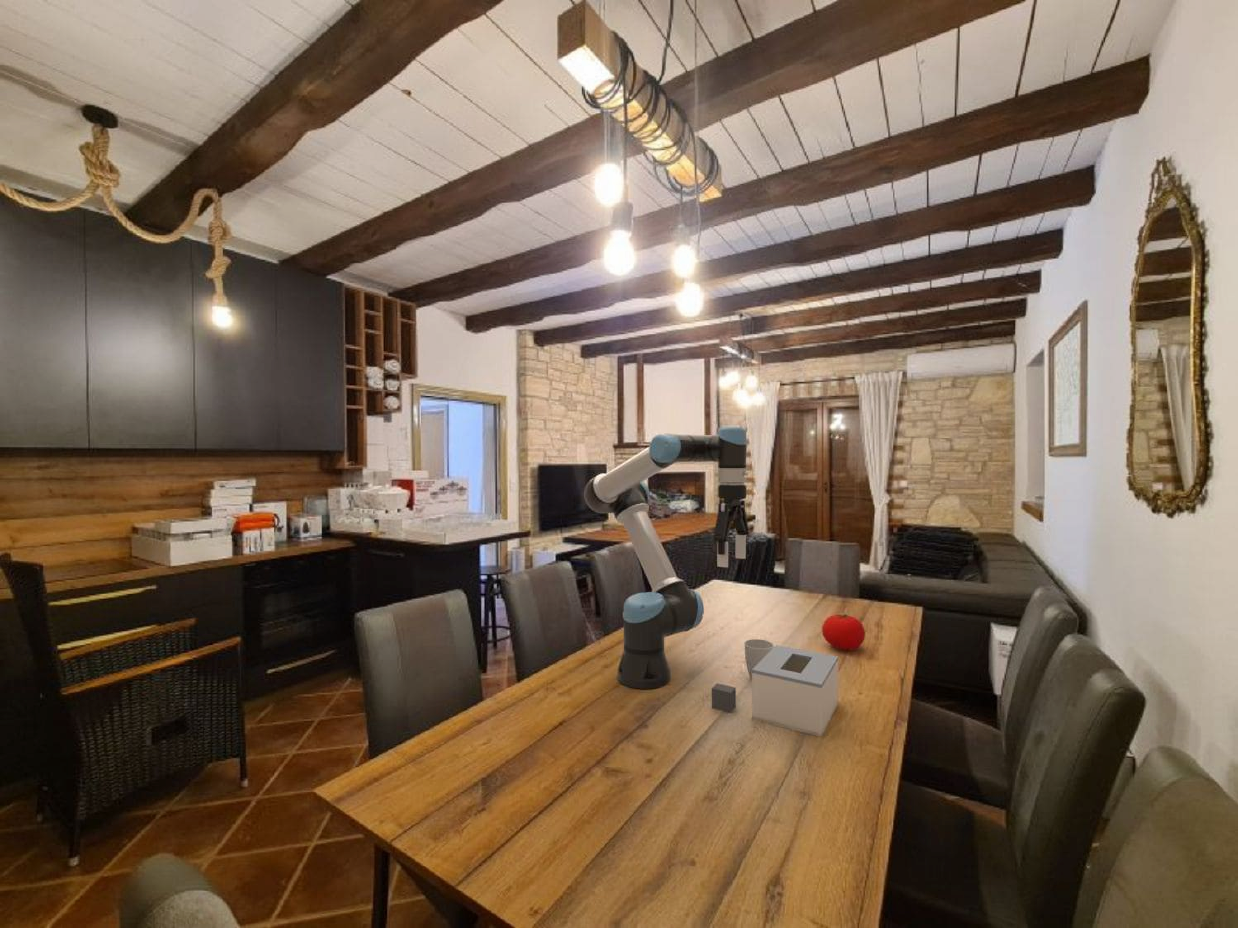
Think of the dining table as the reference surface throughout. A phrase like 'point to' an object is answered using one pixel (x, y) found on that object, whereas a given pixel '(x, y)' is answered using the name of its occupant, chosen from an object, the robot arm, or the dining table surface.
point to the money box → (795, 689)
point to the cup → (756, 652)
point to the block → (724, 697)
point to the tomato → (843, 632)
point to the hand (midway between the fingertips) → (731, 562)
